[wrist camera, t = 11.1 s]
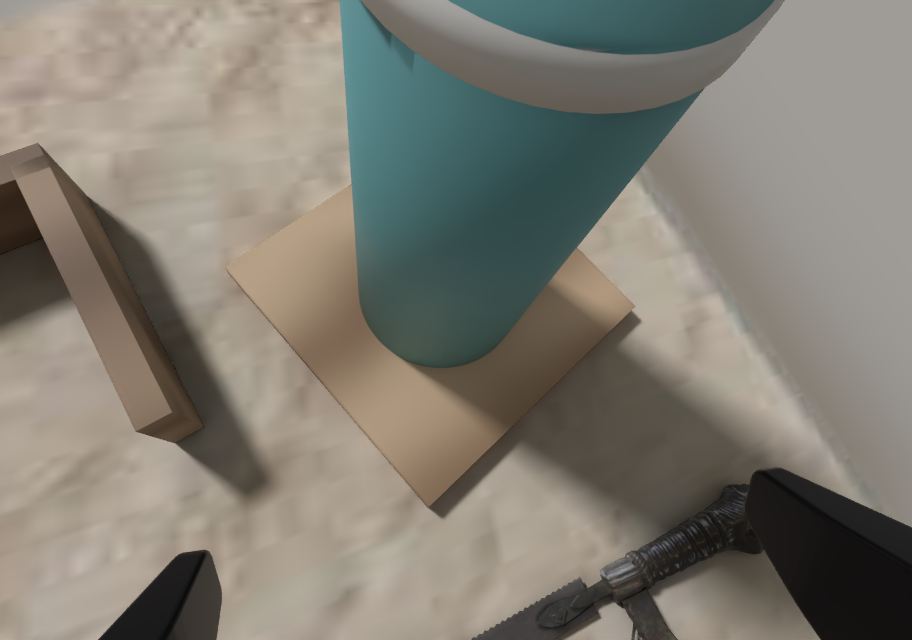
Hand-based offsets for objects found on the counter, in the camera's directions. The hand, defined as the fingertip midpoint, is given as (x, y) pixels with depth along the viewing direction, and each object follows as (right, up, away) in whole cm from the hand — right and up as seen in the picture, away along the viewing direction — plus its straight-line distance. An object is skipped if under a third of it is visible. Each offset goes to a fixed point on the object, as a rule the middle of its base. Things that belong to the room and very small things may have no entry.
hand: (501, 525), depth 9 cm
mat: (-1, +4, +12) cm, 13 cm away
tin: (-1, +4, +11) cm, 12 cm away
